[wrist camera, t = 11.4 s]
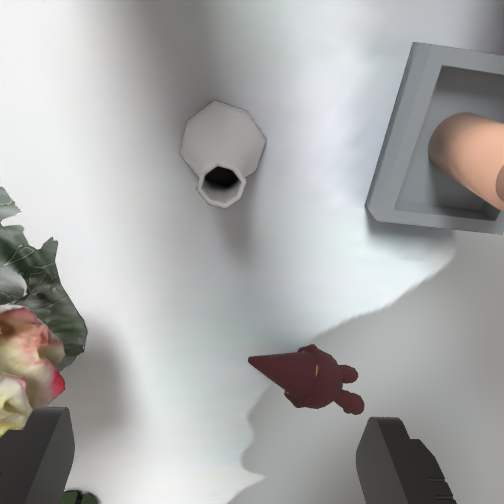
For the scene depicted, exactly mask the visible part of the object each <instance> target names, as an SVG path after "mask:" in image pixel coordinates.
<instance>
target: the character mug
mask: <svg viewBox="0 0 504 504" xmlns="http://www.w3.org/2000/svg"><path fill="white" fill-rule="evenodd" d="M77 494H78V492H65V493H63V494H62V497H61V500H60V503H59V504H98V503H97V501H96V500H95V499H94V497H92V496H90V495H88V494H85V493H84V496H83V499H82V500H80V499H76V498H77Z"/></svg>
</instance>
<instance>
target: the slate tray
mask: <svg viewBox="0 0 504 504" xmlns="http://www.w3.org/2000/svg"><path fill="white" fill-rule="evenodd" d="M461 112H471V113H475V114H478V115H481V116H484V117H486V118H489V119H492V120H495V121H498V122H501V123H504V56H502V55H496V54H490V53H483V52H477V51H471V50H465V49H459V48H452V47H446V46H440V45H434V44H426V43H417V42H413V44H412V48H411V51H410V54H409V58H408V61H407V64H406V68H405V71H404V75H403V78H402V81H401V85H400V88H399V91H398V95H397V98H396V102H395V105H394V108H393V112H392V115H391V119H390V122H389V125H388V129H387V132H386V135H385V139H384V142H383V146H382V149H381V152H380V156H379V159H378V162H377V166H376V169H375V173H374V176H373V179H372V183H371V186H370V190H369V193H368V196H367V200H366V203H365V206H366V208H367V209H368V210H369V212H370V213H371V214H372V216H373V217H374V219H375V220H376V221H380V222H390V223H399V224H408V225H417V226H427V227H436V228H445V229H454V230H464V231H473V232H483V233H491V234H501V235H502V233H503V231H504V211H501V210H499V209H497V208H496V207H494V206H493V205H491V204H490V203H488V202H487V201H485V200H484V199H482V198H481V197H479V196H478V195H476V194H475V193H473V192H472V191H470V190H469V189H467V188H466V187H464V186H463V185H461V184H460V183H458V182H457V181H455V180H454V179H452V178H451V177H449V176H448V175H446V174H445V173H443V172H442V171H440V170H439V169H437V168H436V167H435V166H434V165H433V164H432V162H431V161H430V158H429V154H428V146H429V141H430V138H431V136H432V134H433V132H434V130H435V129H436V128H437V126H438V125H439V124H440V123H441V122H442V121H444V120H445V119H446V118H448V117H450V116H452V115H454V114H457V113H461Z"/></svg>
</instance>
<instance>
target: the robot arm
mask: <svg viewBox="0 0 504 504" xmlns="http://www.w3.org/2000/svg"><path fill="white" fill-rule="evenodd" d="M74 450H75V443H74V437H73V431H72V425H71V419H70V413H69V409H68V408H67V407H36V408H34V409H33V411H32V412H31V414H30V416H29V418H28V420H27V422H26V424H25V426H24V428H23V430H12V429H8V430H7V431H6V432H5V433H4V434H3V435H2V436H1V437H0V504H59V503H60V500H61V497H62V494H63V491H64V488H65V485H66V482H67V479H68V476H69V473H70V470H71V467H72V463H73V458H74ZM356 468H357V473H358V477H359V480H360V483H361V487H362V490H363V494H364V497H365V501H366V504H457V503H456V501H455V500H454V499H453V494H452V492H451V490H450V488H449V486H448V484H447V482H445V478H444V476H443V473H442V472H441V469H440V467H439V465H438V463H437V461H436V459H435V457H434V456H433V455H432V453H431V452H430V451H429V450H428V449H427V448H426V446H425V445H424V444H423V443H422V442H421V441H420V440H419V439H410V438H409V436H408V434H407V431H406V429H405V426H404V424H403V422H402V421H401V420H400V419H399V418H395V417H370V418H369V420H368V422H367V425H366V427H365V430H364V433H363V435H362V438H361V440H360V443H359V446H358V448H357V452H356Z"/></svg>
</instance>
